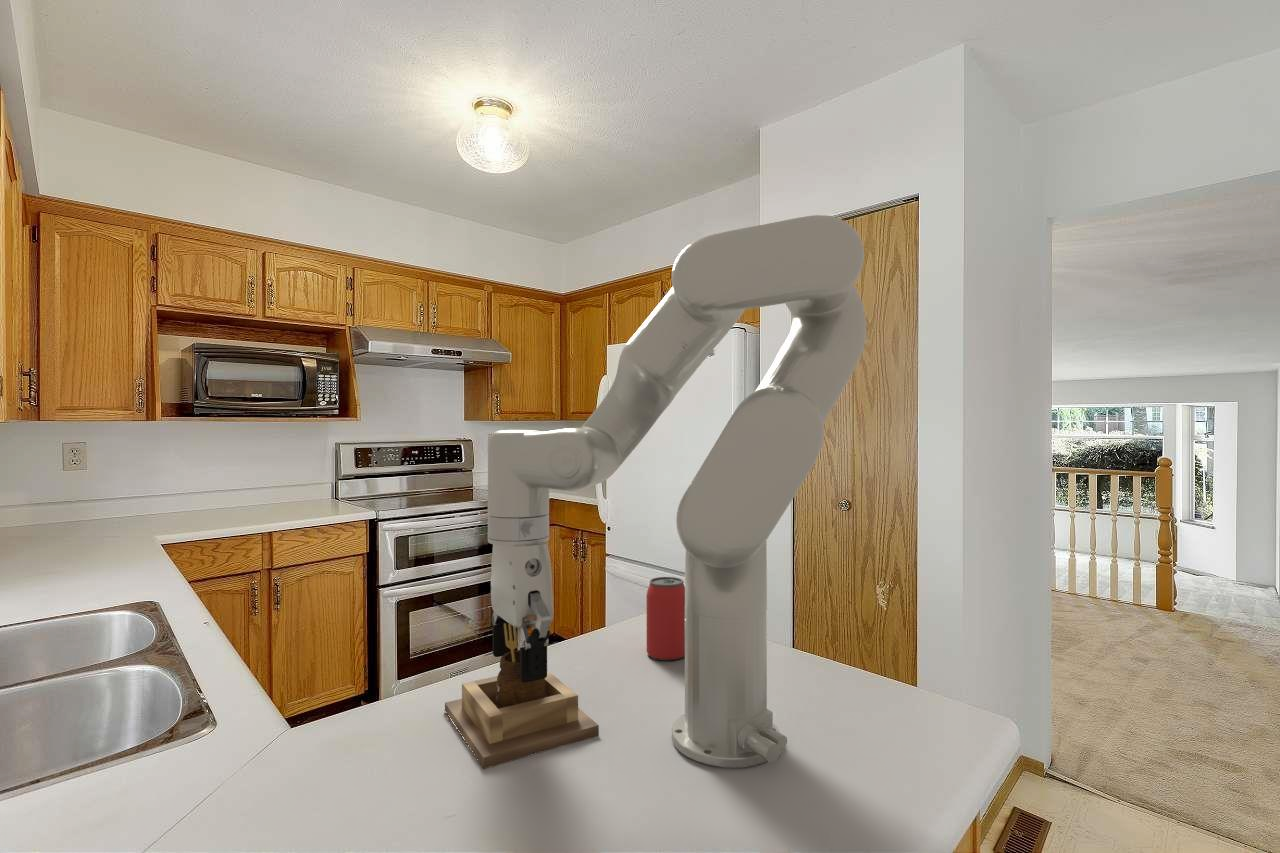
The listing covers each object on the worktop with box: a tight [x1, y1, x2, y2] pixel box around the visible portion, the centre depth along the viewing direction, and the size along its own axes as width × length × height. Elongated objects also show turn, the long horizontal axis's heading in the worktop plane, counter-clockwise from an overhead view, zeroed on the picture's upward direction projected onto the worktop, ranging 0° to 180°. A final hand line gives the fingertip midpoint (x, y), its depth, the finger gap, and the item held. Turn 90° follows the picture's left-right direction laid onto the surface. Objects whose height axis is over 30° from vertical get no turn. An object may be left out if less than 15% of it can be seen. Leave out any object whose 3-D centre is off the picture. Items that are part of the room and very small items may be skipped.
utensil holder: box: [496, 619, 545, 709], centre depth 78 cm, size 6×6×12 cm
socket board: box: [444, 669, 600, 769], centre depth 78 cm, size 16×14×4 cm
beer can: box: [646, 576, 685, 662], centre depth 101 cm, size 7×7×12 cm
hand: (518, 666), depth 78 cm, fingers open, 9 cm apart
